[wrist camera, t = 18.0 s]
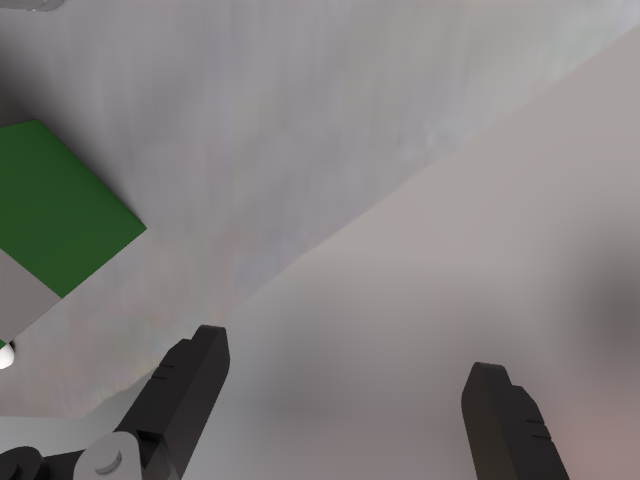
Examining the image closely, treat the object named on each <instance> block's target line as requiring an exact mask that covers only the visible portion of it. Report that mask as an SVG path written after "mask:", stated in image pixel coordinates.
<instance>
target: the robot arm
mask: <svg viewBox="0 0 640 480" xmlns="http://www.w3.org/2000/svg"><path fill="white" fill-rule="evenodd" d="M63 1H64V0H0V8H10V9H22V10H28V11H32V10H33V11H49V10H53V9H55V8H57V7H58V6H60V5H61V4H62V2H63ZM229 365H230V355H229V348H228V341H227V334H226V329H225V328H224V327H217V326H210V325H201V326H200V327H199V328H198V329H197V331H196V333H195V334H194V336H193V337H192V339H191V340H189V339H182V340H181V341H179V342H178V343H177V344H176V345H175V346H173V347H172V348H171V349H170V350H169V351H168V352H167V354H166V355H165V357H164V358H163V360H162V361H161V363H160V364H159V367H157V369H156V370H155V372H154V373H153V375H152V377H151V379H149V381H148V382H147V384H146V385H145V387H144V388H143V390H142V391H141V393H140V394H139V396H138V397H137V399H136V400H135V402H134V403H133V405H132V406H131V408H130V409H129V411H128V412H127V414H126V415H125V416H124V418H123V419H122V421H121V422H120V424H119V425H118V427H117V428H116V429H115V430H114V431H113V432H112V433H110V434H107V435H105V436H103V437H101V438H99V439H97V440H96V441H95V442H93V443H92V444H91V445H90V446H89V447H88V448H87V449H85V450H80V451H76V452H71V453H64V454H59V455H53V456H47V457H42V455H41V454H40V453H39V451H38V450H37V449H35V448H33V447H29V446H27V447H26V446H24V447H17V448H14V449H11V450H8V451H6V452H4V453H2V454H0V480H181V479H182V477H183V474H184V472H185V470H186V468H187V465H188V463H189V461H190V458H191V456H192V454H193V452H194V449H195V447H196V445H197V443H198V440H199V438H200V436H201V434H202V431H203V429H204V427H205V424H206V422H207V420H208V418H209V415H210V413H211V411H212V409H213V407H214V404H215V402H216V400H217V397H218V395H219V393H220V391H221V388H222V386H223V384H224V382H225V379H226V377H227V374H228V371H229ZM461 407H462V414H463V418H464V423H465V427H466V431H467V436H468V440H469V444H470V449H471V453H472V457H473V462H474V465H475V470H476V474H477V479H478V480H570V479H569V477H568V474H567V472H566V470H565V468H564V465H563V463H562V461H561V458H560V456H559V454H558V452H557V449H556V447H555V445H554V443H553V442H552V441H551V436H550V434H549V431H548V429H547V427H546V426H545V425H544V420H543V418H542V415H541V413H540V411H539V409H538V406H537V404H536V403H535V402H534V400H533V399H532V398H531V397H530V396H529V394H528V393H527V392H526V391H525V390H524V389H523V387H521V386H514V385H512V384H511V381H510V379H509V376H508V374H507V371H506V369H505V368H504V367H503V366H502V365H496V364H489V363H480V362H475V363H474V365H473V367H472V369H471V372H470V375H469V377H468V380H467V382H466V385H465V387H464V390H463V393H462V399H461Z"/></svg>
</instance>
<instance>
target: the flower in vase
mask: <svg viewBox="0 0 640 480" xmlns="http://www.w3.org/2000/svg"><path fill="white" fill-rule="evenodd" d="M13 360H14V351H13V349H12V347H11V346H10V344H9V343H8V344H7V345H6V346H4V347H3V348H2V349H1V350H0V369H3V368H5V367H7V366H9V365H11V364H12V363H13Z"/></svg>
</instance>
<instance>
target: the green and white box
mask: <svg viewBox="0 0 640 480" xmlns="http://www.w3.org/2000/svg"><path fill="white" fill-rule="evenodd" d="M146 229H147V228H146V227H145V226H144V225H143V224H142V223H141V222H140V221H139V220H138V219H137V218H136V217H135V216H134V215H133V214H132V213H131V212H130V211H129V210H128V209H127V208H126V207H125V206H124V205H123V204H122V203H121V202H120V201H119V200H118V199H117V198H116V197H115V196H114V195H113V194H112V193H111V192H110V191H109V190H108V189H107V188H106V187H105V186H104V185H103V184H102V183H101V182H100V181H99V180H98V179H97V178H96V177H95V176H94V175H93V174H92V173H91V172H90V171H89V170H88V169H87V168H86V167H85V166H84V165H83V164H82V163H81V162H80V161H79V160H78V159H77V158H76V157H75V156H74V155H73V154H72V153H71V152H70V151H69V150H68V149H67V148H66V147H65V146H64V145H63V144H62V143H61V142H60V141H59V140H58V139H57V138H56V137H55V136H54V135H53V134H52V133H51V132H50V131H49V130H48V129H47V128H46V127H45V126H44V125H43V124H42V123H41V122H40V121H39V120H38V119H36V120H31V121H27V122H23V123H18V124H14V125H10V126H6V127H1V128H0V350H1V349H2V348H3V347H4V346H6V345H7V344H8V343H9V342H10V341H12V340H13V339H14V338H15V337H16V336H18V335H19V334H20V333H21V332H22V331H24V330H25V329H26V328H27V327H29V326H30V325H31V324H32V323H33V322H35V321H36V320H37V319H38V318H39V317H41V316H42V315H43V314H44V313H46V312H47V311H48V310H49V309H50V308H52V307H53V306H54V305H55V304H56V303H58V302H59V301H60V300H61V299H63V298H64V297H65V296H66V295H67V294H69V293H70V292H71V291H72V290H73V289H75V288H76V287H77V286H78V285H79V284H81V283H82V282H83V281H84V280H86V279H87V278H88V277H89V276H90V275H92V274H93V273H94V272H95V271H96V270H98V269H99V268H100V267H101V266H103V265H104V264H105V263H106V262H107V261H109V260H110V259H111V258H112V257H113V256H115V255H116V254H117V253H118V252H119V251H121V250H122V249H123V248H124V247H126V246H127V245H128V244H129V243H130V242H132V241H133V240H134V239H135V238H136V237H138V236H139V235H140V234H141V233H143V232H144V231H145V230H146Z"/></svg>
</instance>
